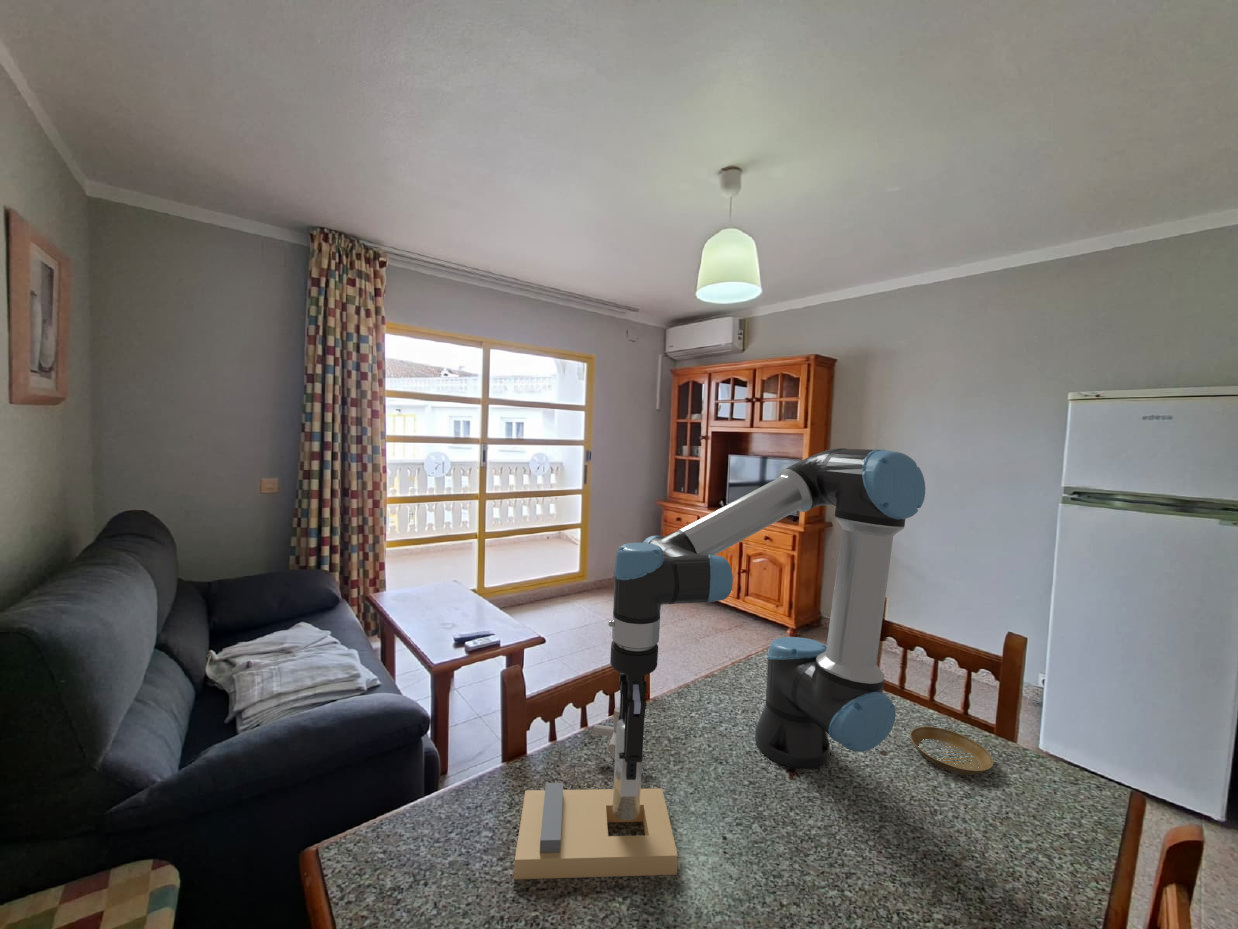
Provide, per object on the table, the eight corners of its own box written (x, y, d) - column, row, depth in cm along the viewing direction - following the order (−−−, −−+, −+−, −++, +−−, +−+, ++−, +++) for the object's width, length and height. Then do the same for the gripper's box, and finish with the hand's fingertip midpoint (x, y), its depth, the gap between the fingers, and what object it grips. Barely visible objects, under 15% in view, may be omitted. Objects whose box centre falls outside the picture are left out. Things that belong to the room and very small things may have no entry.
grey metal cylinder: (637, 799, 82) (642, 718, 81) (641, 820, 77) (645, 734, 77) (611, 800, 81) (615, 718, 81) (613, 820, 77) (617, 734, 76)
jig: (661, 804, 87) (662, 777, 87) (676, 874, 73) (678, 842, 73) (524, 807, 85) (525, 779, 85) (514, 879, 71) (515, 846, 71)
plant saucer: (1003, 792, 95) (1004, 778, 95) (915, 769, 100) (916, 757, 100) (979, 748, 108) (980, 737, 108) (903, 730, 114) (904, 719, 114)
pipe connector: (636, 778, 94) (639, 727, 93) (586, 769, 96) (588, 719, 95) (644, 746, 103) (646, 700, 103) (598, 738, 105) (600, 693, 105)
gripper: (608, 621, 86) (601, 749, 87) (615, 667, 69) (607, 826, 70) (650, 621, 87) (643, 749, 88) (667, 667, 70) (659, 825, 71)
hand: (627, 783), depth 79 cm, fingers closed on grey metal cylinder, 4 cm apart
